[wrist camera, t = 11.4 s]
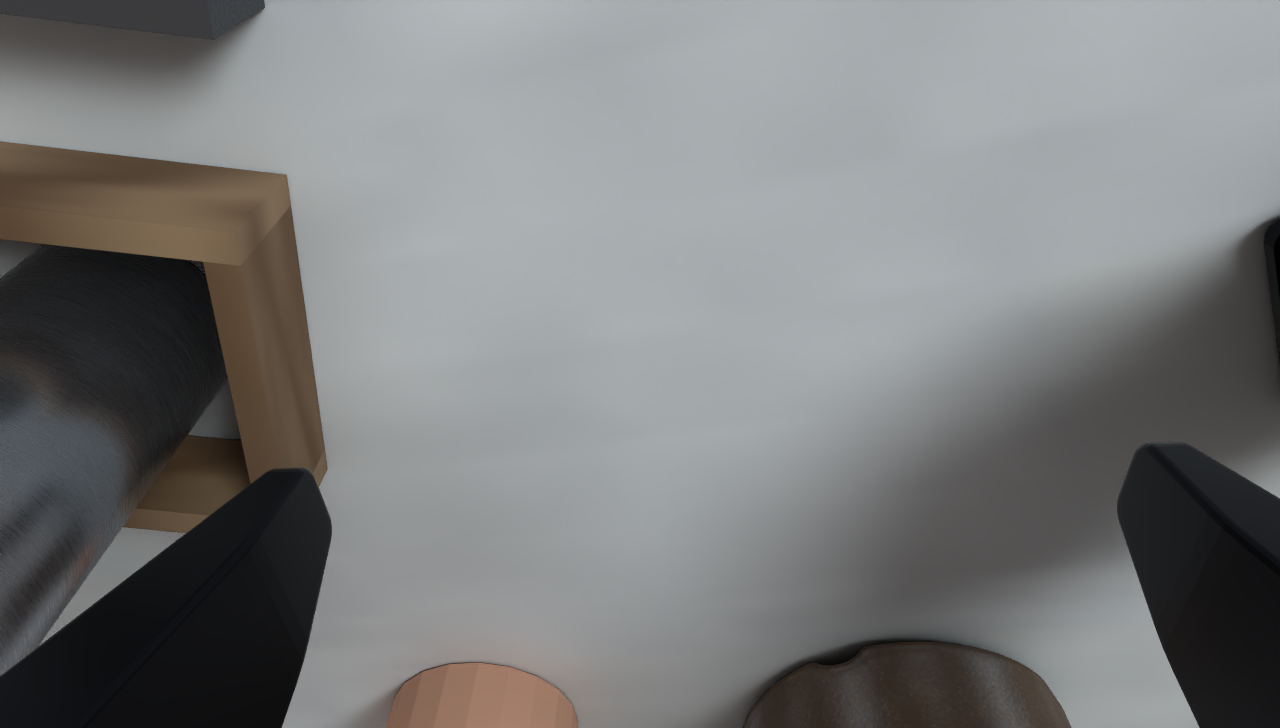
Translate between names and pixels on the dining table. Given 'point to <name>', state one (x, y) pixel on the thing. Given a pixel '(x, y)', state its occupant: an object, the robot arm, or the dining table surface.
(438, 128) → the dining table surface
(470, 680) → the pepper shaker
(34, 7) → the socket block
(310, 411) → the wooden square frame
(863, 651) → the plant pot
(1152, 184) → the dining table surface
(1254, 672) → the robot arm
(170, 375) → the brass-banded metal cylinder
